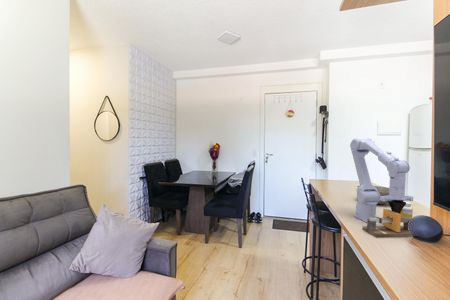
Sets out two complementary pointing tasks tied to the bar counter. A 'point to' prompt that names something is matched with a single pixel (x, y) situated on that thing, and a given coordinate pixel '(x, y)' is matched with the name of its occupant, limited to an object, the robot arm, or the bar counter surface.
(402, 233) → the pipe stand
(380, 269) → the bar counter surface
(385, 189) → the ceramic bowl
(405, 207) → the supplement bottle
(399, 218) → the collar
